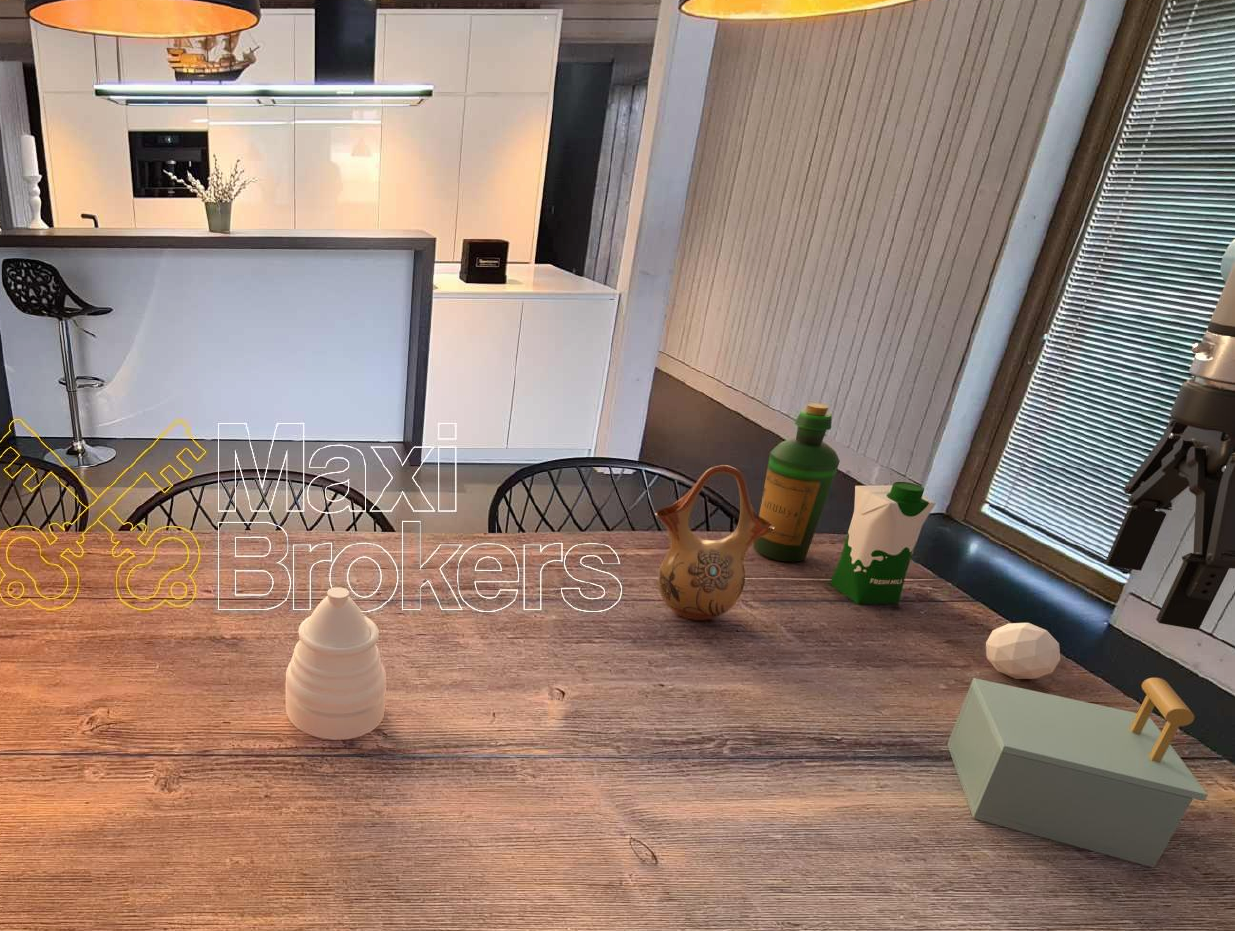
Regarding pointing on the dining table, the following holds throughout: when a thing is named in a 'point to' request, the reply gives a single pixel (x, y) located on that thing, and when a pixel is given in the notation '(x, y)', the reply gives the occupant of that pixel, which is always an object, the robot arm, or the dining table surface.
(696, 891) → the dining table surface
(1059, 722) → the compartment door
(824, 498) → the bottle
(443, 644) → the dining table surface
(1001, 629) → the geometric ball
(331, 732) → the honey pot
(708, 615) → the ceramic vessel
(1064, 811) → the compartment
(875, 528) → the milk carton
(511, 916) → the dining table surface
